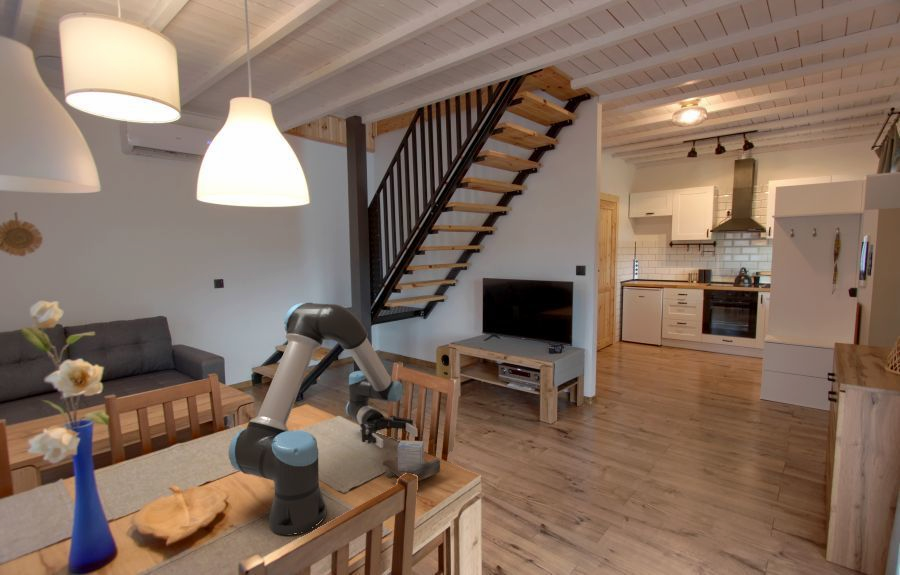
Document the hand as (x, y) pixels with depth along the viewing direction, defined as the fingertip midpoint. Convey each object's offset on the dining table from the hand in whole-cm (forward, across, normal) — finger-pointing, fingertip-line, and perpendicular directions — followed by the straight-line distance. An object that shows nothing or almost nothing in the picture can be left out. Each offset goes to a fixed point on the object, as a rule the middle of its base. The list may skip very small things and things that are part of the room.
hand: (399, 438), depth 144 cm
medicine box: (+8, 0, -8) cm, 11 cm away
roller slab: (+5, -1, -11) cm, 12 cm away
